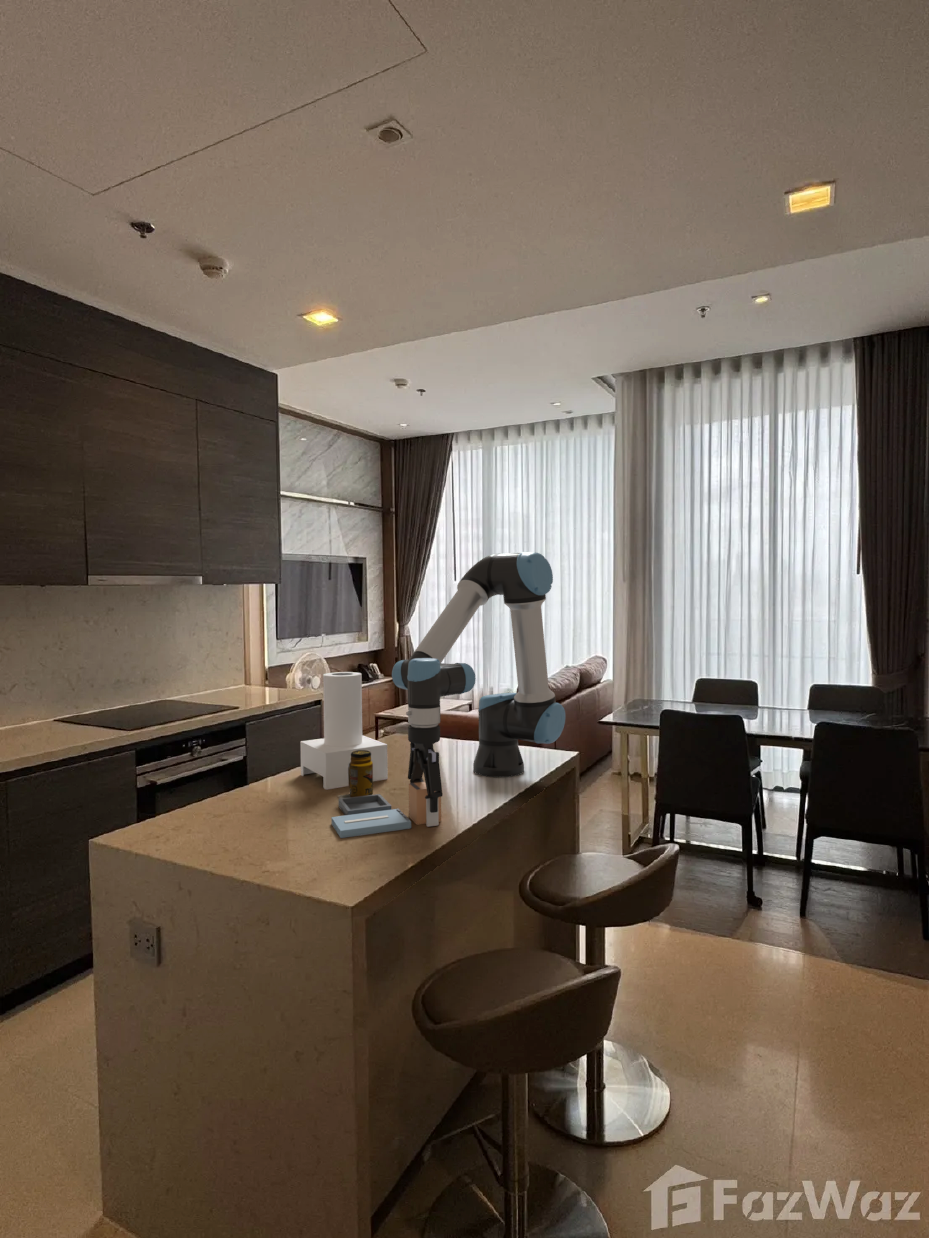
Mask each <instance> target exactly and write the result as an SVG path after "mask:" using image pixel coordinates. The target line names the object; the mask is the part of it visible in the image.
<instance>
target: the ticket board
mask: <svg viewBox="0 0 929 1238" xmlns="http://www.w3.org/2000/svg"><path fill="white" fill-rule="evenodd" d="M330 819H331V826H332V827H333V829H334V830H335V832H336V834H338V836H339V838H340V839H344V838H351V837H357V836H358V837H360V836H366V835H373V834H378V833H379V834H381V833H387V832H394V831H401V830H409V829H412V821H411V819H410V817H409V816H407V815H406V814H405V813H404V812H403V811H402V810H401V809H400V808H391V810H384V811H376V812H368V813H360V814H352V815H339V816H338V815H337V816H331V818H330Z"/></svg>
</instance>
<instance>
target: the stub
mask: <svg viewBox="0 0 929 1238" xmlns="http://www.w3.org/2000/svg"><path fill="white" fill-rule="evenodd" d="M434 792H435V791H434ZM426 795H428V794H427V788H426V783H425V781H423V782H419V783H410V782H409V783H408V818H409V819H410V820H412V822H413V823H414V824H416V825H423V824H426V799H425V796H426ZM438 799H439V822H442V797H438Z"/></svg>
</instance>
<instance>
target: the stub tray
mask: <svg viewBox="0 0 929 1238" xmlns="http://www.w3.org/2000/svg"><path fill="white" fill-rule="evenodd" d="M338 808H339V809H340V811H341V812H342V813H343V816H345V815H352V814H360V813H368V812H376V811H384V810H392V804H391V803H390V802H388V800H387V799H386V798H385V797H383V795H382V794H380V793H377V794H373V795H367V796H358V797H350V798H341V799H340V798H338Z"/></svg>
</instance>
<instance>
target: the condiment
mask: <svg viewBox="0 0 929 1238" xmlns="http://www.w3.org/2000/svg"><path fill="white" fill-rule="evenodd" d="M348 774H349V793H347V794H343V795H342V794H340V795H337V797H338V799H341V798H350V797H358V796H367V795H374V781H373V763H372V761H371V752H370V751H368V750H357V751H353V752H352V753H351V762H350V764H349V767H348Z"/></svg>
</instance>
